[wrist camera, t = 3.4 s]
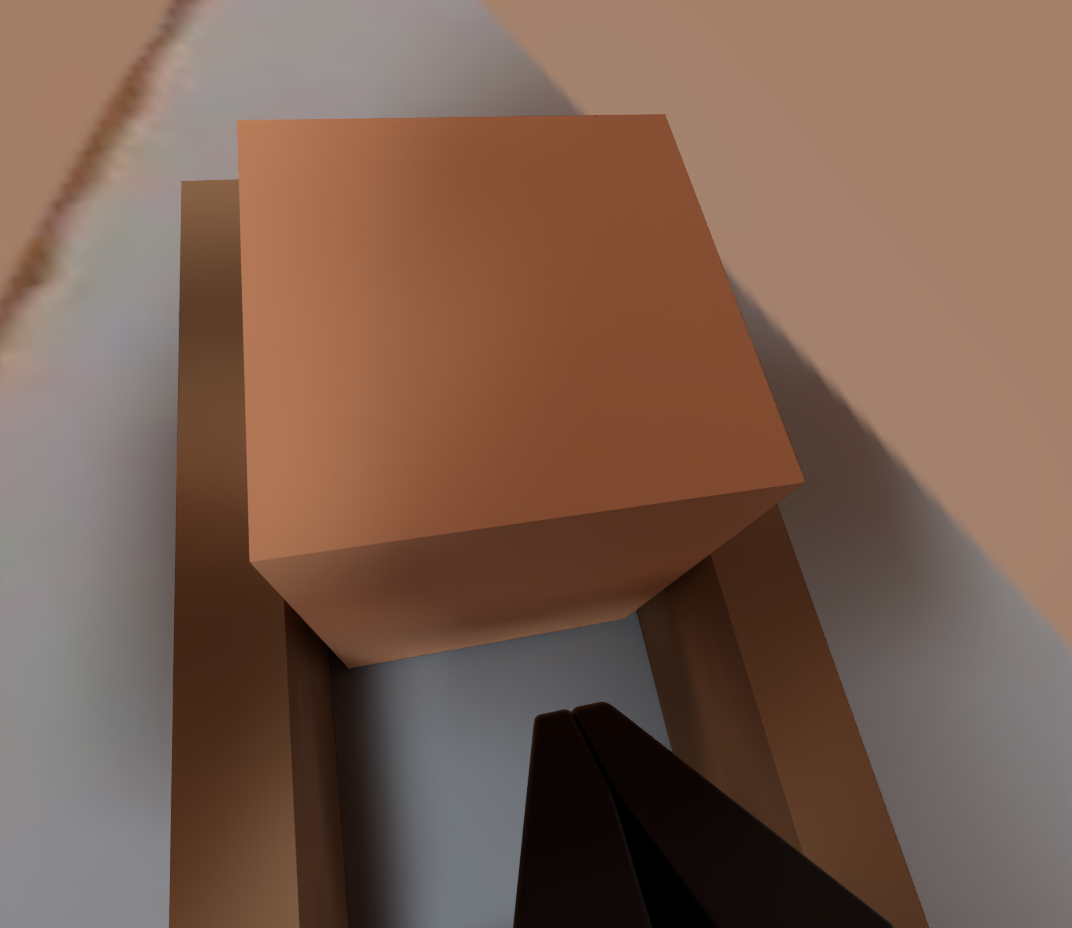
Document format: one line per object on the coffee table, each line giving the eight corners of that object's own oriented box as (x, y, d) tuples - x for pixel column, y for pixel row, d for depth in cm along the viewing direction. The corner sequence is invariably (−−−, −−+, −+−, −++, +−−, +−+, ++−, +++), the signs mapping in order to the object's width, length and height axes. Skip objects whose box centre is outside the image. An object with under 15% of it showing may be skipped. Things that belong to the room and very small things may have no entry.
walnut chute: (842, 1098, 12) (1053, 1272, 8) (271, 1305, 10) (156, 1685, 6) (608, 295, 19) (655, 166, 15) (243, 322, 17) (182, 181, 13)
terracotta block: (624, 619, 15) (805, 482, 8) (349, 668, 14) (249, 561, 6) (567, 388, 17) (665, 114, 10) (328, 413, 16) (236, 120, 9)
